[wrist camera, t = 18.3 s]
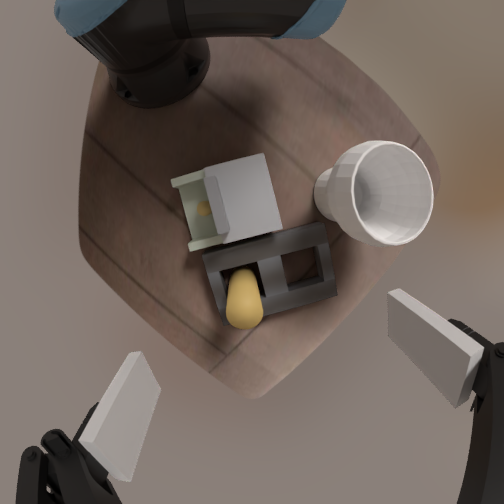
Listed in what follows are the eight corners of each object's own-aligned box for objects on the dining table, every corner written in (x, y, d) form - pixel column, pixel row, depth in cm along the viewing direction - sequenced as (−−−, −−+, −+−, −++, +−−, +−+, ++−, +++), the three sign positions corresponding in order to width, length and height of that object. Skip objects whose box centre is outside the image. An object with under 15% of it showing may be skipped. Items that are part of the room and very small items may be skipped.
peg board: (204, 250, 37) (201, 255, 34) (318, 221, 37) (324, 223, 34) (224, 316, 38) (223, 325, 36) (330, 288, 38) (337, 295, 36)
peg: (233, 293, 38) (231, 332, 26) (226, 269, 37) (221, 300, 25) (258, 286, 38) (266, 324, 26) (252, 262, 37) (258, 291, 25)
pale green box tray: (178, 181, 35) (170, 179, 30) (258, 160, 35) (260, 154, 30) (195, 245, 36) (190, 251, 32) (274, 225, 36) (279, 228, 32)
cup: (327, 246, 37) (377, 274, 23) (288, 180, 35) (321, 167, 21) (383, 208, 37) (449, 216, 22) (349, 145, 35) (407, 119, 20)
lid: (204, 168, 30) (199, 164, 26) (263, 153, 30) (266, 147, 26) (223, 242, 32) (221, 248, 28) (281, 227, 32) (287, 231, 28)
